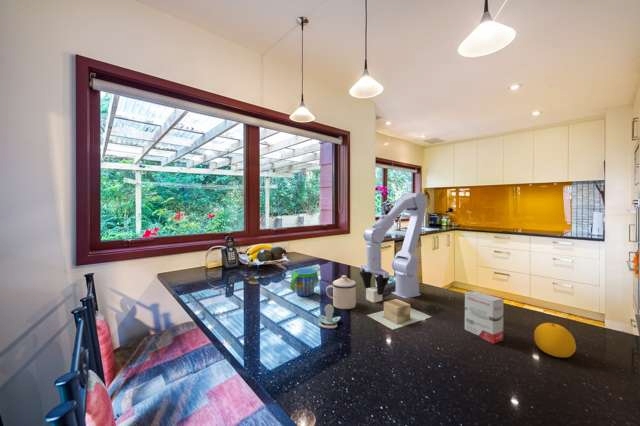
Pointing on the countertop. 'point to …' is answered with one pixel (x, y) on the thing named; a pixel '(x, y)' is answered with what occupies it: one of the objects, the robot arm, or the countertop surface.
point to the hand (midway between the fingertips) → (373, 291)
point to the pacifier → (328, 318)
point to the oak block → (397, 311)
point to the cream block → (373, 295)
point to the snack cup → (304, 281)
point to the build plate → (392, 325)
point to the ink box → (484, 316)
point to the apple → (554, 340)
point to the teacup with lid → (343, 293)
